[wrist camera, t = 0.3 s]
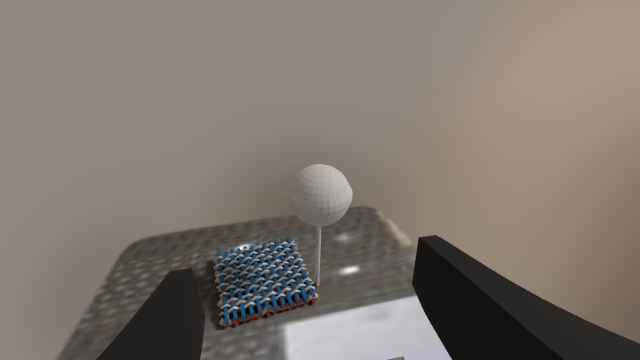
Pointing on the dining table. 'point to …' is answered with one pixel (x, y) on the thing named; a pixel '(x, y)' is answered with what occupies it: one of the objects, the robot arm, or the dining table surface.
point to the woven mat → (261, 281)
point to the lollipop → (319, 199)
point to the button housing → (399, 359)
